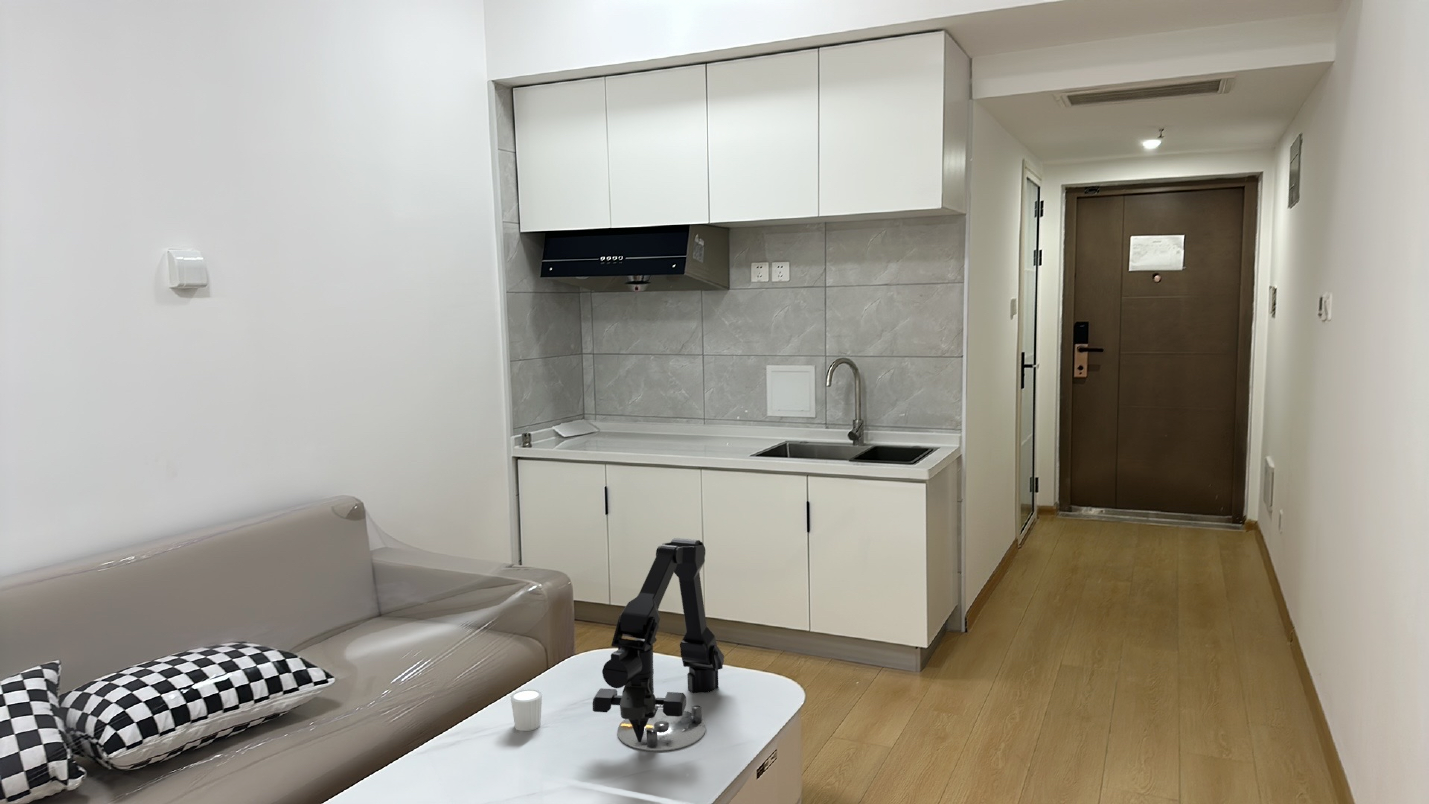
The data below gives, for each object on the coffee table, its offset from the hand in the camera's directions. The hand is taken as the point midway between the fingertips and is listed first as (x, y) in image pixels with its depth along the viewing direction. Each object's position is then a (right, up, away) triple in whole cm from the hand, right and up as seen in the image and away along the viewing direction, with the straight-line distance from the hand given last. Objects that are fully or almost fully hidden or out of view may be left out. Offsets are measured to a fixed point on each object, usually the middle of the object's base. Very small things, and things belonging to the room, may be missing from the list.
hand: (640, 741), depth 195 cm
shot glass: (-26, -1, +13) cm, 29 cm away
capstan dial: (+4, 0, +8) cm, 9 cm away
